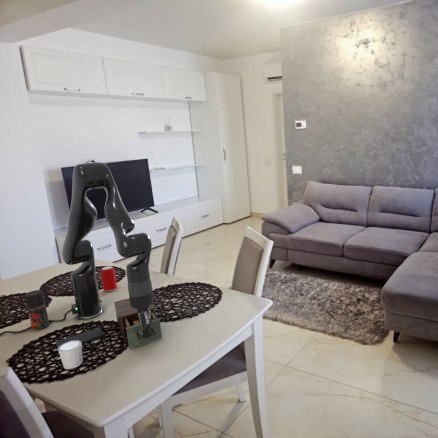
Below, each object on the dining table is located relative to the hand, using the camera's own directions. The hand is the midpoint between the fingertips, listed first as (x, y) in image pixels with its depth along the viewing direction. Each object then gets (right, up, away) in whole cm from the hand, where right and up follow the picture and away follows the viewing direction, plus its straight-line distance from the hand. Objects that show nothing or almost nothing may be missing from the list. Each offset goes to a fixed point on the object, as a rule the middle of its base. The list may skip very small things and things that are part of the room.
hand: (147, 337), depth 126 cm
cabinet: (-12, -2, +20) cm, 23 cm away
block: (-6, -2, +11) cm, 13 cm away
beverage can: (-42, +5, +57) cm, 71 cm away
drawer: (-5, -3, +9) cm, 11 cm away
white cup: (-24, -8, -4) cm, 25 cm away
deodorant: (-53, -3, +22) cm, 57 cm away
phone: (-30, -5, +11) cm, 32 cm away
